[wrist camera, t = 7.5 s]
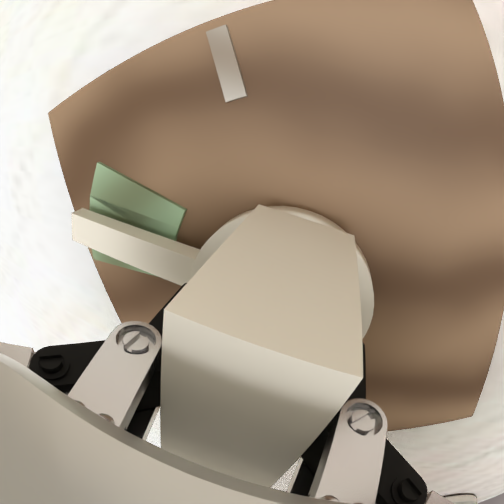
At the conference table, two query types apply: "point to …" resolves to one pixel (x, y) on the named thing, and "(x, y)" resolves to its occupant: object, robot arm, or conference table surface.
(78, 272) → the conference table surface
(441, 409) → the dial board
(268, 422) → the peg knob
